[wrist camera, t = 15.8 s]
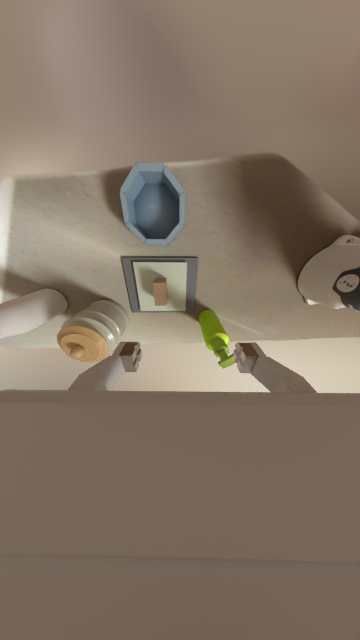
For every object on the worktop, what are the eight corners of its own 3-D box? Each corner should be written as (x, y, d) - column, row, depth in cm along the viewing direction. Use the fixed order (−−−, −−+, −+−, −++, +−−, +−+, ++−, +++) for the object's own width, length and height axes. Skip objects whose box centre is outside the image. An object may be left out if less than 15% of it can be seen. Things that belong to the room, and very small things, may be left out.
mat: (197, 257, 35) (197, 257, 35) (193, 311, 43) (194, 312, 43) (122, 257, 35) (121, 257, 34) (132, 311, 43) (132, 312, 42)
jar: (105, 337, 48) (72, 381, 32) (79, 307, 41) (23, 343, 26) (137, 325, 45) (117, 367, 30) (114, 292, 39) (75, 322, 24)
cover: (186, 262, 35) (188, 265, 30) (185, 309, 42) (186, 318, 37) (134, 261, 35) (126, 264, 29) (141, 309, 42) (136, 318, 36)
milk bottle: (49, 282, 37) (-61, 315, 20) (74, 302, 41) (-3, 345, 23) (35, 297, 40) (-74, 339, 22) (60, 315, 43) (-19, 364, 25)
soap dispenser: (221, 315, 44) (250, 361, 27) (205, 327, 46) (222, 376, 29) (211, 304, 42) (236, 345, 25) (195, 317, 44) (206, 363, 27)
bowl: (183, 178, 27) (185, 163, 22) (182, 244, 33) (184, 244, 28) (126, 177, 27) (114, 162, 22) (135, 244, 33) (128, 244, 28)
